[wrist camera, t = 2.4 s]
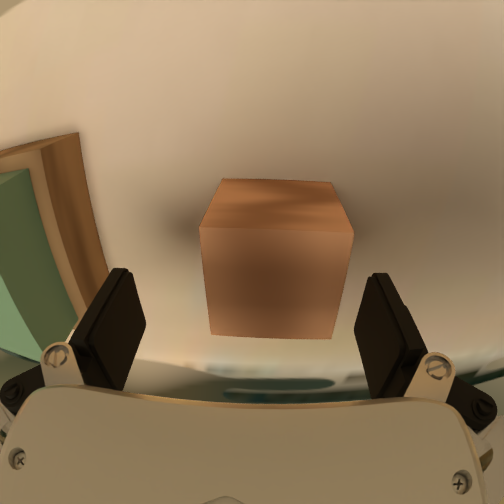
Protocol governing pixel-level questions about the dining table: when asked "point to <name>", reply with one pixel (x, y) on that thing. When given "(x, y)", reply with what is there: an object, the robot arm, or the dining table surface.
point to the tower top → (28, 275)
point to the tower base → (64, 212)
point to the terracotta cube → (275, 258)
